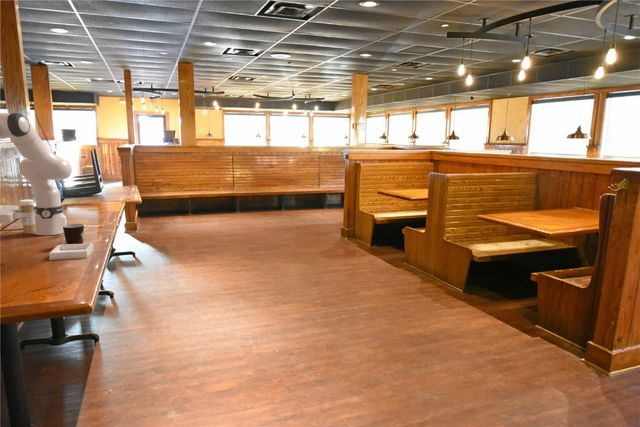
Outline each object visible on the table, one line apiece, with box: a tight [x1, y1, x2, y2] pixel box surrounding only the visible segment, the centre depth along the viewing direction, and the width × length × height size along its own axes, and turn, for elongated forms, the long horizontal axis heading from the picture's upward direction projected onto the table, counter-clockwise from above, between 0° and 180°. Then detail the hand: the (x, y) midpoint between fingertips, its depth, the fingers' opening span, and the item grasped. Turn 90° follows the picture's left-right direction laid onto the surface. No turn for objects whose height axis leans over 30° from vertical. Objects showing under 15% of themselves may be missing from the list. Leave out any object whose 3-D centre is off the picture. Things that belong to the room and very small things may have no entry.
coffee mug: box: [63, 223, 85, 245], centre depth 202 cm, size 12×9×10 cm
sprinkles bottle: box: [19, 198, 36, 234], centre depth 176 cm, size 5×5×14 cm
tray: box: [48, 242, 94, 261], centre depth 188 cm, size 14×14×3 cm
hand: (29, 213), depth 176 cm, fingers closed on sprinkles bottle, 4 cm apart
